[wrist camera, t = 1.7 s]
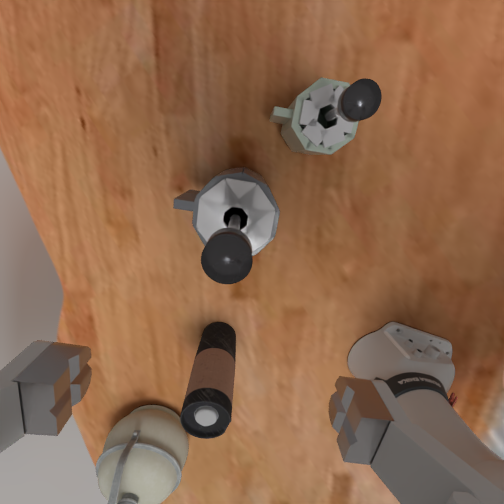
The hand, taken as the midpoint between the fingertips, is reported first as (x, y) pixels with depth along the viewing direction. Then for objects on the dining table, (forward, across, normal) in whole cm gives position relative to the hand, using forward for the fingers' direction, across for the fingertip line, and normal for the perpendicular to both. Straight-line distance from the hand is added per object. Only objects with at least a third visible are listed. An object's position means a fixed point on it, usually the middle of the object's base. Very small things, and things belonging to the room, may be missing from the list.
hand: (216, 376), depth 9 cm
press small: (+42, -8, -13) cm, 45 cm away
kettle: (+43, +11, +60) cm, 75 cm away
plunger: (+24, 0, 0) cm, 24 cm away
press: (+43, +1, 0) cm, 43 cm away
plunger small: (+28, -9, -13) cm, 32 cm away
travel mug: (+43, 0, +30) cm, 52 cm away
